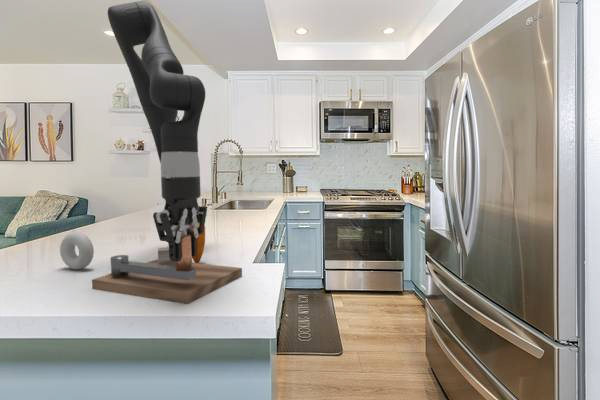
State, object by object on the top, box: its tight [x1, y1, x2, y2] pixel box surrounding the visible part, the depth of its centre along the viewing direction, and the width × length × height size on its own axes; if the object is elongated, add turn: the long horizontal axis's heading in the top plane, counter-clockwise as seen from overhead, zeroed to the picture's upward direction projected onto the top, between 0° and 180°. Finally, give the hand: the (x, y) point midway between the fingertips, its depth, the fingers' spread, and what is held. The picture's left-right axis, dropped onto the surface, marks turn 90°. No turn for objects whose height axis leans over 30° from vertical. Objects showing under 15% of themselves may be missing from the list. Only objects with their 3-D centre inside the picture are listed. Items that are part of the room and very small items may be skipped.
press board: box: [91, 246, 243, 304], centre depth 85 cm, size 20×26×7 cm
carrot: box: [190, 223, 206, 263], centre depth 102 cm, size 5×5×15 cm
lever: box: [110, 234, 196, 280], centre depth 79 cm, size 4×22×10 cm, turn 68°
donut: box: [59, 231, 95, 271], centre depth 97 cm, size 10×4×10 cm, turn 71°
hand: (183, 257), depth 76 cm, fingers open, 4 cm apart
